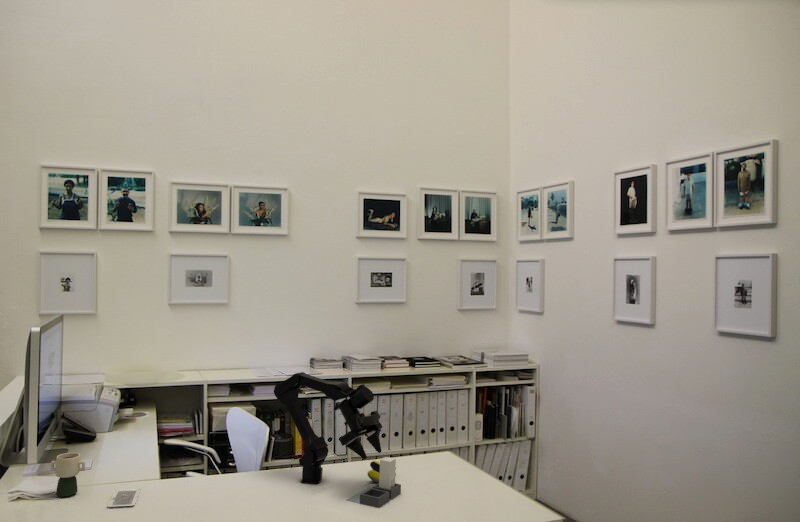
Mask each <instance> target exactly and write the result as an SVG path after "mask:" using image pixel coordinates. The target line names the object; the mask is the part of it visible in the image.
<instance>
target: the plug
mask: <svg viewBox="0 0 800 522" xmlns="http://www.w3.org/2000/svg"><path fill="white" fill-rule="evenodd" d="M396 461H397V459H396V458H393V457H387V456H384V457H382V458H381V459H380V460H379V462H380V475H379V487H381V488H386V489H392V488H394V487H395V483H396V476H395V473H396V470H395V467H396V466H397V465H396V463H397V462H396Z"/></svg>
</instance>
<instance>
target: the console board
mask: <svg viewBox="0 0 800 522" xmlns="http://www.w3.org/2000/svg"><path fill="white" fill-rule="evenodd" d="M401 494H402V484H400V483H396V482H395V487H394V488H392V489H386V488H381V487H379V483H377V484H374V485H373V486H367V487H366V488H364V489H362V490H361V491H359V492H357V493H356V494H353V495H352V496H351V497H349V498H347V499H345V501H346V502H350V503H355V504H359V505H364V506H368V507H371V508H378V509H380V508H382V507H384V506H385V505H386V504H388V503H390V502H391V501H392V500H394V499H395V498H396V497H398V496H399V495H401Z"/></svg>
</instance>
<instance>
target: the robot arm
mask: <svg viewBox="0 0 800 522" xmlns="http://www.w3.org/2000/svg"><path fill="white" fill-rule="evenodd" d="M302 386H303V387H306V388H308V389H311V390H314V391H317V392H319V393H323V394H324V395H325V396H326V398H328V399H330V400H332V401H338V402H335V404H334V408H333V411H338V410H340V413H341V414H342V416H343V418H344V421H345V422H344V423H343V424H344V425H345V426H347V427H348V428H349V431H348V432H347V433H345V434H343V435H342V436H340V438H339V439H340V440H339V442H340V444H341V446H342V447H344V446H345V448H347V449H349V450H350V451H353V453H355V454H357V455H358V456H359V457H361V458H362V459H363V460H366V459H368V457H367V454H366V451H365V449H364V446H363V445H362V437H363V436H365V437H366V438H365V439H366V440H367V441H368V443H369V444H370V445H371V446H372V447H373V448H374V450H375V451H376V452H377V453H378V454H381V453H382V447H381V446H382V445H381V441H380V434H381V432H382V428H383V425H382V423H381V422H380V419H381V415H380V414H379V412H378V410H373V411H370V414H368V415H365V413H364V412H361V411H360V410H361V409H363V408H365V407H366V406H367V405H368V404H370V403H371V402H372V401H374V400H375V397H374V396H375V395H374V393H373V391H372V390H371V389H370V388H368V386H366V385H365V384H364V383H362V384H360V385H358V386H357V387H356V388H353V387H351V386H349V384H348V383H347V382H345V381H330V380H326V379H322V378H320V377H318V376H317V377H316V376H315V375H310V374H307V373H306V372H304V371H301V372H295V373H294V374H292V375H291V376H290V377H288V378H287V379H285V380H283V381H281V382H278V383H276V384H275V385H274V388H273V394H274V396H275V398H276V399H277V401H278V402H279V403H280V404H282V405H283V406H284V407H286V409H287V411H288V413H289V416H290V418H291V419H292V422H293V423H294V425H295V427H296V430H297V432H298V434H299V435H300V437H301V439H302V442H303V443H302V451H303V453H304V454H302V456H301V457H300V458H299V459H298V463H299V466H301V467H302V471H301V472H302V473H301V474H302V475H301V477H302V478H301V480H300V484H301V483H302V484H311V485H312V484H313V485H318V484H319V483H320V481H322V479H323V467H322V463H324V462H325V461H326V458H327V457H328V455H329V448H328V446H329V445H328V443H327V442H326V440H325V437H324V436H323V435H321V436H318V435H316V433H315V431H314V429H313V427H312V426H311V423H310V421H309V420H308V417H307V415H306V413H305V411H304V409H303V407H302V405H301V403H300V401H299V389H301V387H302ZM347 398H348V399H347ZM340 400H341V401H340Z"/></svg>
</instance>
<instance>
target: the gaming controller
mask: <svg viewBox="0 0 800 522" xmlns="http://www.w3.org/2000/svg"><path fill="white" fill-rule="evenodd" d="M369 466H370V468H371V469H370V470H368V471H367V477H369V479H370V481H372V482H373V483H377V484H378V483H379V475H380V461H378V460H373V461H371V462H370V464H369ZM396 469H397V467H396V466H395V471H396ZM396 476H397V473H396V472H395V477H396Z"/></svg>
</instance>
